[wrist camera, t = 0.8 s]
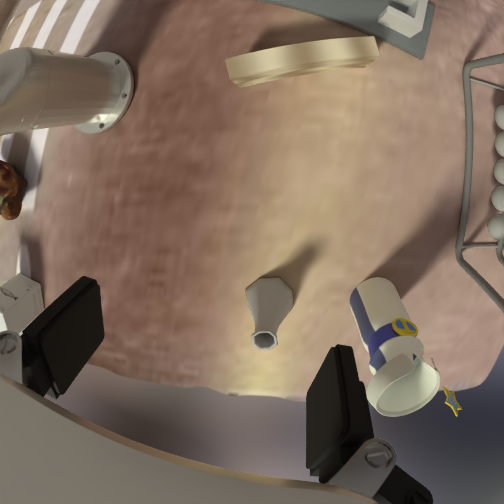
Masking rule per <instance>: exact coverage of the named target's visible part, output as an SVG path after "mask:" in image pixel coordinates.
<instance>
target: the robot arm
mask: <svg viewBox="0 0 504 504" xmlns="http://www.w3.org/2000/svg"><path fill="white" fill-rule="evenodd" d="M20 1H21V0H0V43H1V40H2V38H3V36H4V34H5V31H6V29H7V27H8V25H9V23H10V21H11V19H12V16H13V14H14V12H15V11H16V9H17V7H18V5H19V2H20ZM133 88H134V78H133V73H132V70H131V68H130V66H129V64H128V63H127V61H126V60H125V59H124V58H122V57H121V56H120V55H117V54H115V53H111V52H99V53H95V54H93V55H91V56H89V57H83V56H78V55H73V54H68V53H63V52H57V51H52V50H45V49H39V48H32V47H20V48H15V49H11V50H8V51H6V52H4V53H2V54H0V136H2V135H6V134H11V133H17V132H23V131H29V130H36V129H43V128H50V127H58V126H67V125H73V126H74V127H75V128H76V129H77V130H79V131H81V132H84V133H91V134H93V133H100V132H103V131H106V130H108V129H109V128H111V127H112V126H114V125H115V124H116V123H117V122H118V121H119V120H120V119H121V118H122V117H123V115H124V114H125V112H126V111H127V109H128V106H129V104H130V102H131V98H132V95H133ZM126 95H127V97H126ZM22 332H23V334H22V335H21V336H20V335H19V334H18V333H16V332H14V331H8V330H6V331H2V332H0V504H433V499H432V495H431V493H430V491H429V490H428V489H427V488H425V487H424V486H423V485H422V484H420V483H419V482H418V481H416V480H415V479H414V478H412V477H411V476H410V475H408V474H407V473H406V472H404V471H403V470H402V469H401V468H399V467H398V466H397V465H396V461H397V454H396V451H395V449H394V447H393V446H392V445H391V444H390V443H389V442H387V441H385V440H383V439H379V438H374V434H373V427H372V422H371V416H370V411H369V406H368V400H367V395H366V390H365V386H364V383H363V382H362V381H359V377H358V372H357V367H356V362H355V358H354V353H353V349H352V347H351V346H345V345H340V344H337V345H336V346H335V347H331V348H330V350H329V352H328V354H327V356H326V358H325V360H324V362H323V364H322V366H321V367H320V369H319V371H318V373H317V375H316V377H315V379H314V381H313V382H312V384H311V386H310V388H309V390H308V392H307V396H306V411H307V412H306V418H307V419H306V468H307V469H310V476H319V482H320V483H316V482H308V481H300V480H291V479H283V478H276V477H269V476H263V475H257V474H251V473H245V472H240V471H235V470H230V469H226V468H221V467H217V466H212V465H208V464H204V463H201V462H197V461H193V460H189V459H186V458H183V457H179V456H176V455H173V454H170V453H166V452H163V451H160V450H157V449H155V448H151V447H149V446H146V445H143V444H141V443H138V442H135V441H133V440H130V439H128V438H125V437H123V436H120V435H118V434H116V433H113V432H111V431H109V430H106V429H104V428H102V427H100V426H97V425H95V424H93V423H91V422H89V421H87V420H85V419H83V418H81V417H79V416H77V415H75V414H73V413H71V412H69V411H67V410H66V409H64V408H62V407H60V406H58V405H57V404H55V403H53V402H51V401H49V400H48V399H46V398H44V396H45V394H46V393H47V394H48V395H50V396H51V397H53V398H55V399H57V398H58V397H59V395H60V394H61V395H62V394H64V393H65V392H66V391H67V389H68V388H69V386H70V385H71V383H72V382H73V381H74V379H75V378H76V376H77V375H78V373H79V372H80V371H81V369H82V368H83V367H84V365H85V364H86V363H87V361H88V360H89V359H90V357H91V356H92V355H93V353H94V352H95V351H96V349H97V348H98V347H99V345H100V344H101V343H102V341H103V339H104V326H103V317H102V307H101V295H100V286H99V285H98V284H97V281H96V280H95V279H92V278H89V277H86V276H82V277H81V278H80V279H79V280H77V281H76V282H75V283H74V284H73V285H72V286H71V287H69V288H68V289H67V290H66V291H65V292H64V293H63V294H62V295H60V296H59V297H58V298H57V299H56V300H55V301H54V302H53V303H52V304H51V305H49V306H48V307H47V308H46V309H45V310H44V311H43V312H42V313H41V314H40V315H39V316H38V317H37V318H36V319H35V320H34V321H33V322H31V323H30V324H29V325H28V326H27V327H26V328H25V329H24V330H23V331H22Z"/></svg>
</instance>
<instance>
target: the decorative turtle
mask: <svg viewBox="0 0 504 504" xmlns="http://www.w3.org/2000/svg"><path fill="white" fill-rule="evenodd" d="M26 186H27V181H26V180H25V179H24V178H23V177H21V176H19V175H18V174H17V173H16V166H14V165H12V164H9V163H7V162H4V161H1V160H0V215H2V217H3V218H4V219H6V220H13V219H16V218H17V217H18V216H19V214H20V211H21V207H22V199H21V198H22V193H23V191H24V190H25V188H26Z"/></svg>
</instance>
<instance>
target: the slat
mask: <svg viewBox="0 0 504 504" xmlns="http://www.w3.org/2000/svg"><path fill="white" fill-rule="evenodd" d="M379 56H380V54H379V51H378V48H377V44H376V41H375V38H374V36H369V37H351V38H338V39H328V40H319V41H311V42H304V43H298V44H292V45H286V46H280V47H275V48H270V49H265V50H260V51H256V52H252V53H247V54H243V55H239V56H235V57H232V58H228V59H225V62H226V65H227V69H228V73H229V77H230V80H232V81H233V82H234V83H235V84H236V85H238V86H239V87H240V88H242V87H246V86H250V85H254V84H259V83H263V82H268V81H272V80H277V79H283V78H288V77H293V76H299V75H305V74H312V73H319V72H326V71H334V70H343V69H353V68H365V67H366V66H367V65H369V64H370V63H371V62H373V61H374V60H375V59H377V58H378V57H379Z"/></svg>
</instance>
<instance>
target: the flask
mask: <svg viewBox="0 0 504 504" xmlns="http://www.w3.org/2000/svg"><path fill="white" fill-rule="evenodd" d="M245 292H246V298H247V304H248V308H249V310H250V312H251V315H252V317H253V320H254V322H255V332H254V333H253V334H252V335H251V337H252V343H253V345H254V346H256V347H257V348H258V349H259V350H270V349H272V348H273V347H275V346H276V345H278V342H277V335H276V333H277V330H278V327H279V325H280V324H281V323H282V321H283V320H284V318H285V317H286V316H287V314H288V313H289V312H290V311H291V309H292V308H293V294H292V290H291V289H290V288H289V287H288V286H287V285H286V284H285V283H284V282H283V281H282V280H281V279H280V278H279V277H277V278H262V279H258V280H257V281H256V282H254V283H253V284H252V285H251V286H249V287H248V288H247V289H246V290H245Z"/></svg>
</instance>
